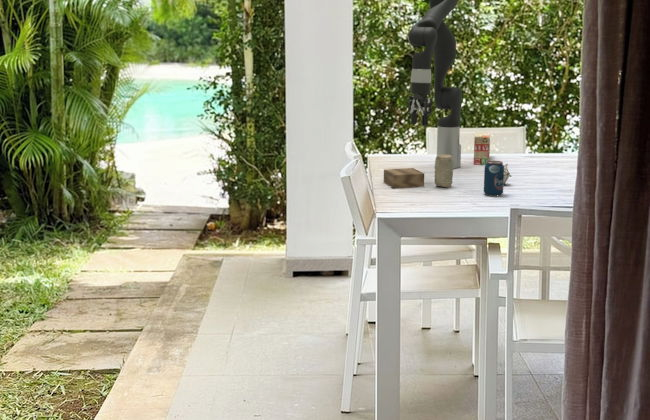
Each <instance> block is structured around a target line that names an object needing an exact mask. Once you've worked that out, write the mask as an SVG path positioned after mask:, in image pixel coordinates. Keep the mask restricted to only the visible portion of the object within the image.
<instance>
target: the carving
mask: <svg viewBox="0 0 650 420" xmlns="http://www.w3.org/2000/svg"><path fill="white" fill-rule="evenodd" d="M434 161H435V162H434V175H433V176H434V177H433V178H434V184H435V186H436V187H440V188H441V187H443V188H448V187H449V188H450V187H452V185H453V176H454V171H453V170H454V168H453V157H452V156H451V155H446V154H445V155H437V154H436V157H435V160H434Z"/></svg>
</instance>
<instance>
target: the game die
mask: <svg viewBox="0 0 650 420" xmlns="http://www.w3.org/2000/svg"><path fill="white" fill-rule="evenodd" d="M503 166H504V181H503V186H506V185H507V184H506V182H507V181H508V180H509V177H512V175H510V172H509V169H508V163H506V164H503Z"/></svg>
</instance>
